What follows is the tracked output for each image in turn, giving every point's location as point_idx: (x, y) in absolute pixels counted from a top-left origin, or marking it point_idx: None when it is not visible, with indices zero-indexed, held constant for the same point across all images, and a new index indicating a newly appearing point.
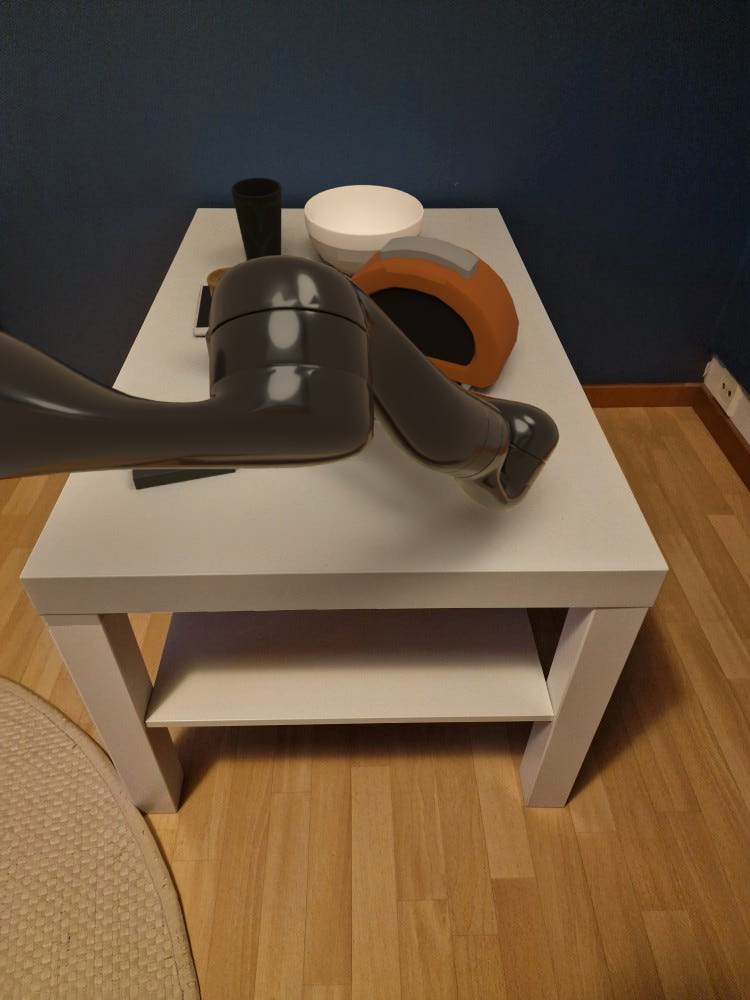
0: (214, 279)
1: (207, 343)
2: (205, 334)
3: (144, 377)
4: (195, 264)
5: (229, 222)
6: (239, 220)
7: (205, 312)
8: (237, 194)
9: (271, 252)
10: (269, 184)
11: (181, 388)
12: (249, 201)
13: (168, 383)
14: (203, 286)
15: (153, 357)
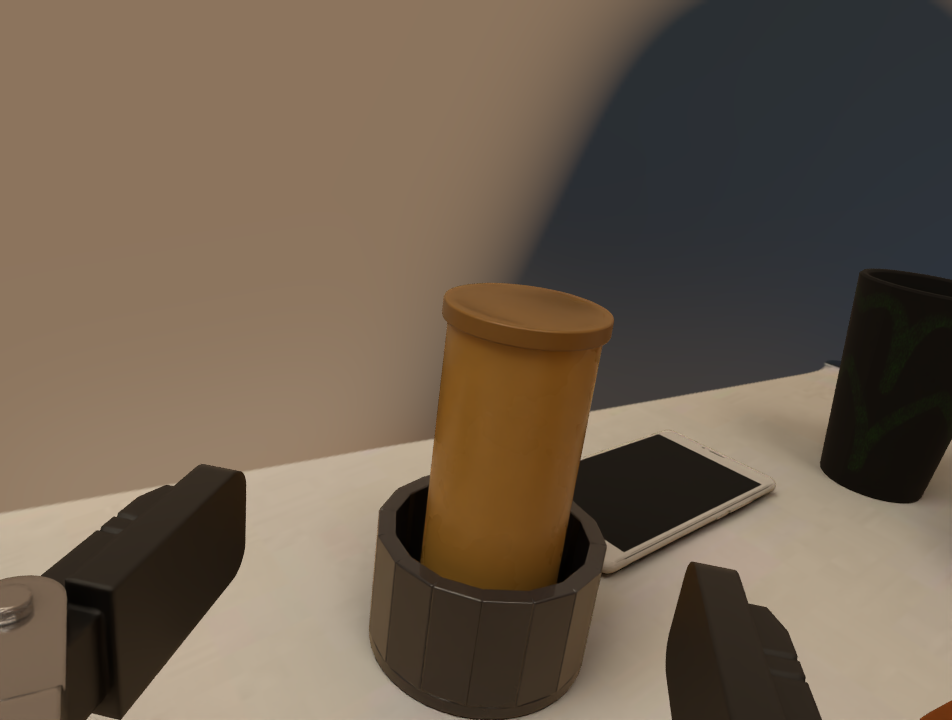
0: (482, 291)
1: (393, 496)
2: (428, 475)
3: (266, 493)
4: (705, 409)
5: None
6: (845, 346)
7: (585, 471)
8: (866, 275)
9: (893, 457)
10: None
11: (254, 571)
12: (888, 296)
13: (264, 539)
14: (658, 435)
15: (358, 475)
